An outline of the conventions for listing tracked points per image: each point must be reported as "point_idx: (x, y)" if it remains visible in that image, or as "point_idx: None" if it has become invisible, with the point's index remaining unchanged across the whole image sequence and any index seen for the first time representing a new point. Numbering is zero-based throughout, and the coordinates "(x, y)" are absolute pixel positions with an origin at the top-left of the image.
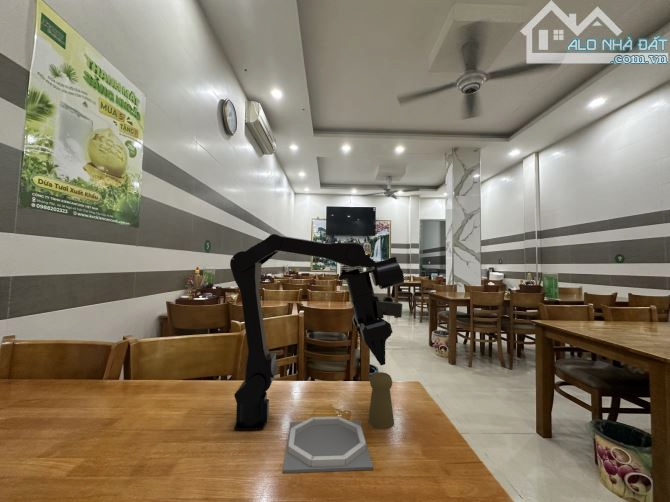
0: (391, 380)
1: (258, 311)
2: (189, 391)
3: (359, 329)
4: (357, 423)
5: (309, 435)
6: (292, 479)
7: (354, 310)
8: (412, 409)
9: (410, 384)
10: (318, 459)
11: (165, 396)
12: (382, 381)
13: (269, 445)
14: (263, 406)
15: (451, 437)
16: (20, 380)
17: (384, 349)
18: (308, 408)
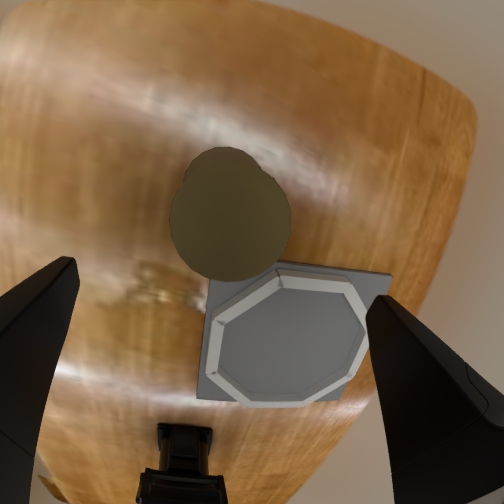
0: (268, 176)
1: None
2: (83, 478)
3: (17, 501)
4: None
5: (257, 372)
6: (354, 385)
7: None
8: (169, 54)
9: (17, 19)
10: (357, 367)
11: (104, 492)
12: (287, 240)
13: (262, 417)
14: (199, 457)
15: (345, 40)
16: None
17: (467, 371)
18: (123, 358)
